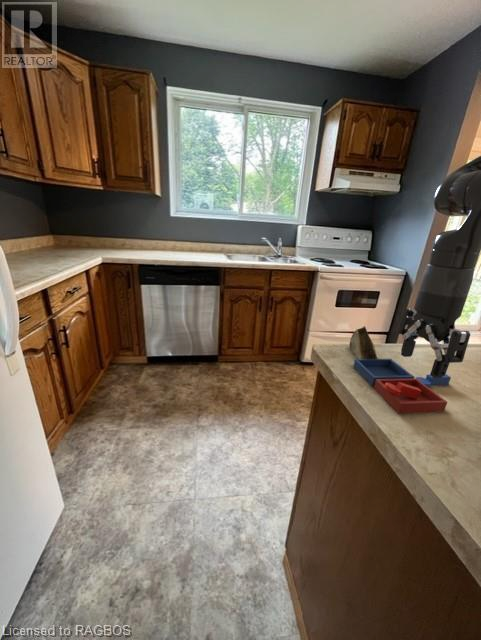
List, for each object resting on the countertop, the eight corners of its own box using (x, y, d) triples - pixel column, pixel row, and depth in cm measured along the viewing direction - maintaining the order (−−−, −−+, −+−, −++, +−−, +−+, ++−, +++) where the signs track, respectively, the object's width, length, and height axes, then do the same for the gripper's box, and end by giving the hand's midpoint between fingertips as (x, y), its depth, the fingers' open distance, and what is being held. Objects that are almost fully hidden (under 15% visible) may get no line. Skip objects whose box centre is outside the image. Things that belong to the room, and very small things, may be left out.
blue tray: (388, 366, 73) (391, 358, 72) (411, 385, 65) (414, 376, 64) (353, 367, 72) (354, 359, 71) (371, 386, 63) (374, 377, 63)
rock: (341, 339, 84) (337, 345, 75) (363, 320, 81) (362, 324, 72) (367, 366, 81) (367, 375, 72) (391, 348, 78) (394, 355, 69)
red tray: (413, 387, 64) (416, 378, 63) (444, 411, 56) (447, 402, 55) (373, 388, 63) (375, 379, 62) (398, 413, 55) (401, 403, 54)
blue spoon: (440, 379, 68) (443, 372, 67) (451, 387, 65) (454, 379, 64) (411, 380, 67) (413, 372, 66) (420, 388, 64) (423, 380, 63)
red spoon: (409, 393, 61) (414, 385, 60) (419, 402, 58) (425, 393, 57) (380, 384, 59) (385, 376, 58) (389, 393, 56) (395, 384, 55)
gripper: (498, 300, 45) (466, 384, 50) (431, 281, 58) (412, 349, 64) (457, 300, 44) (429, 386, 49) (399, 281, 57) (382, 350, 63)
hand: (420, 365), depth 56 cm, fingers open, 8 cm apart
